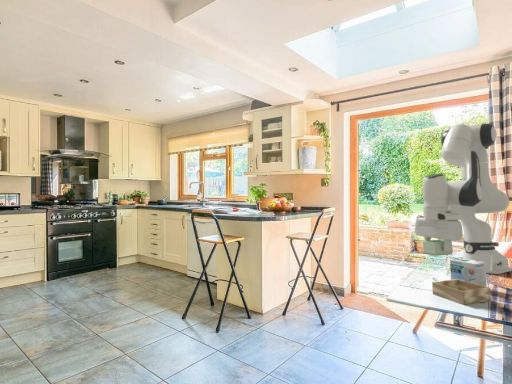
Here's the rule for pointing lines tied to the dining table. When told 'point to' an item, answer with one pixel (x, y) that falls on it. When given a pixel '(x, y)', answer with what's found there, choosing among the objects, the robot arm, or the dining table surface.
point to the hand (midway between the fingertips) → (437, 249)
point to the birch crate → (461, 291)
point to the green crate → (436, 248)
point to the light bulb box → (468, 271)
